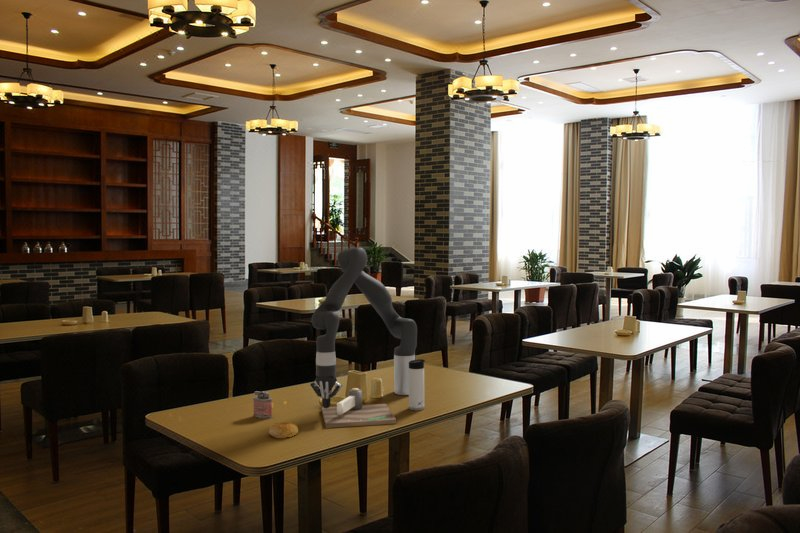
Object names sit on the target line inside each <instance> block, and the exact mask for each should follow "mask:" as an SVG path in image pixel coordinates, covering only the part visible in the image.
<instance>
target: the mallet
mask: <svg viewBox="0 0 800 533" xmlns="http://www.w3.org/2000/svg"><path fill="white" fill-rule="evenodd" d="M362 394H363V391H362V389H360V388H358V387H353V388H351V389H349V390H348V397H345V398H344V399H342V400H341V401H339V402H337V403H336V407H337V414H338V415H342V414H343V413H345V412H346V411H348V410H349V409H352V410H358V409H361V408H362V405H363V395H362Z"/></svg>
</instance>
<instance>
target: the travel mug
mask: <svg viewBox="0 0 800 533" xmlns="http://www.w3.org/2000/svg"><path fill="white" fill-rule="evenodd" d="M425 362H426V360H425V358H423V359H415V360H412V361H410V362H409V395H408V409H409V410H411V411H422V410H424V409H425Z"/></svg>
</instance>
